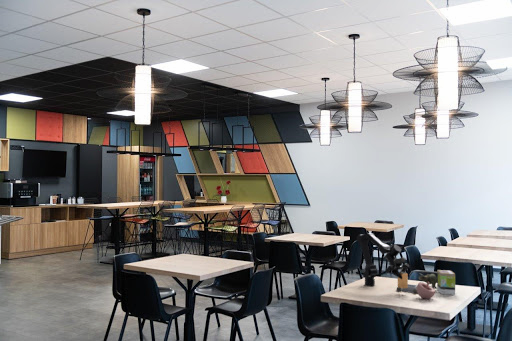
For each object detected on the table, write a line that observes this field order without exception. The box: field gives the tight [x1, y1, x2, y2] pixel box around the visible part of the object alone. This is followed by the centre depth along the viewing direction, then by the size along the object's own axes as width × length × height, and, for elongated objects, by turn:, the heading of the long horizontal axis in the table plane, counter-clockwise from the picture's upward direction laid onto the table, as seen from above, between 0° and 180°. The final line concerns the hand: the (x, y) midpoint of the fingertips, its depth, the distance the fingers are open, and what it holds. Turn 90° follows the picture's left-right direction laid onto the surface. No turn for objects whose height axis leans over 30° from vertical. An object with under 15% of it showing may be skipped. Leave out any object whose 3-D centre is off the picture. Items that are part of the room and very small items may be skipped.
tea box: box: [436, 269, 456, 296], centre depth 339 cm, size 15×10×15 cm, turn 168°
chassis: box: [396, 283, 418, 294], centre depth 344 cm, size 16×15×4 cm
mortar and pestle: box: [416, 281, 436, 300], centre depth 319 cm, size 12×12×11 cm
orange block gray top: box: [397, 271, 409, 288], centre depth 333 cm, size 5×4×11 cm
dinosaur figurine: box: [418, 272, 437, 290], centre depth 355 cm, size 22×8×11 cm, turn 123°
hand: (404, 278), depth 332 cm, fingers closed on orange block gray top, 4 cm apart
